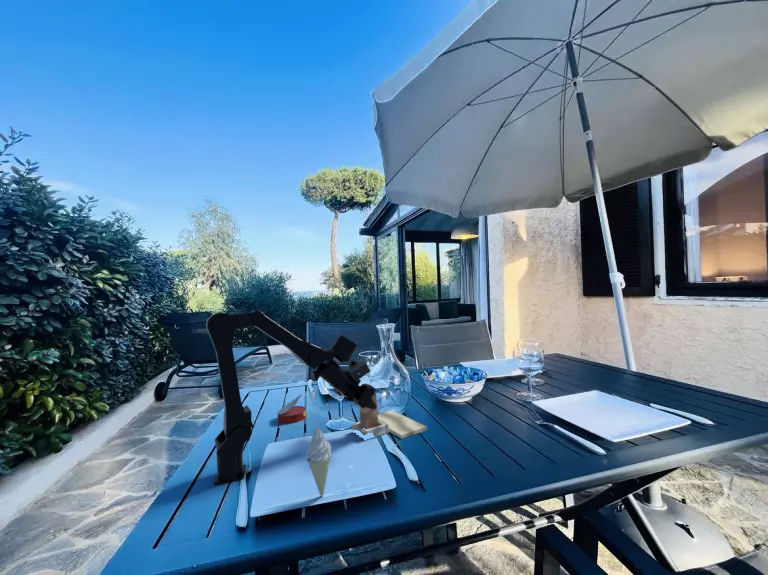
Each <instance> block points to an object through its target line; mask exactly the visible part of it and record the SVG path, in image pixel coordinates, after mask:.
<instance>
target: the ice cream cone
mask: <svg viewBox="0 0 768 575" xmlns="http://www.w3.org/2000/svg"><path fill="white" fill-rule="evenodd" d="M307 449H308V450H307V452H306V453H307V455H308V456H307V457H306V460H307V462H308V465H309V468H310V470H311V471H310V472H311V473H312V476H313V480H314V482H315V485H316V487H317V490H318V493H319V496H320V495H321V496H322V495H323V496H324V493H325V489H326V483H327V478H328V472H329V468H330V462H331V457H332V452H331V451H332V450H331V449H332V448H331V444H330V442H329V441H327V439H325V434H324V433H323V432H322V430H321V428H320V425H319V424H318V423H316V426H315V429H314V432H313V434H312V436H311V442H310V444H309V445H308V446H307ZM321 496H320V497H321Z"/></svg>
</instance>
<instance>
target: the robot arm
mask: <svg viewBox="0 0 768 575" xmlns="http://www.w3.org/2000/svg"><path fill="white" fill-rule="evenodd" d="M205 327H206V330H207V333H208V336H209V338H210V341H211V343H212V345H213V348H214V351H215V356H216V360H217V368H218V374H219V378H220V384H221V386H220V387H221V392H222V397H223V404H224V409H223V410H224V411H223V426H222V427H223V428H222V430H221V431H220V432H219V433H218V434H217V436H216V437H215V438H214V445H215V448H216V453H215V454H216V472H217V474H216V476H215V478H214V481H213V485H215V486H216V485H219V484H220V485H221V484H225V483H230V482H234V481H238V480H239V481H241V480H243V479H244V478H245V474H246V471H247V467H248V466H247V464H244V454H243V452H244V447H245V444H246V442H247V441H248V440H249V439H250V437H251V436H252V432H253V431H252V428H253V429H254V428H255V425H254V424H253V422H252V410H251V408H250V407H249V405H245V406H243V403H242V398H241V392H240V387H239V380H238V375H237V369H236V363H235V362H236V361H235V355H234V351H233V350H234V348H233V346H234V337H235V336H234V333H235V331H236V330H241V329H247V328H251V327H255V328H256V329H258V330H259V331H261V332H262V333H264V334H266V335H267V336H268V337H270V338H271V339H273V340H275V341H276V342H277V343H279V345H282V346H284V347H285V348H286V349H288V351H290V352H291V354H293V356H294V357H295V358H296V359H297V360H298V361H300V363H301V364H303V365H305V366H308V367H309V368H313V369H311V370H310V372H311V373H310V375H311V376H310V379H311V380H313V381H315V382H317V381H318V380H319V379H320V378H321V379H322V380H324V381H325V382H326V383H328V384H329V386H330V387H331V388H333V393H335V394H336V396H339V397H340V398H341V397H342V396H343V399H344V400H347V401H348V402H353V403H354V405H355V406H357V407H358V408H359V407H361V408H365V407H366V408H371V409H375V408H376V407H377V408H378V405H377V406H376V404H375V403H374V401H373V400H372V396H373V395H374V393H375V392H376V393H377V389H376V388H375V387H374V386H373V385H372V384H368V383H365V382H364V383H362V384H361V382H362V380H361V379H362V378H363V377H365V376H366V375H367V374H370V372H371V369H370V366H369V365H368V363H367V361H363V360H357V362H356V361H355V360H350V359H351V358H352V357H353V355H354V354H355V352H356V351H357V350H358V349H359V348H358V345H357V343H355V342H354V341H352V340H350V339H349V338H347V337H346V336H344V335H343V334H338V335H337V337H336V338H335V341H333V343H332V344H331V346H329V348H326V347H324V348H321V347H319V346H317V345H315V344H313V343H310V342H309V341H305V340H303V339H301V338H299V337H297V336H296V335H294V334H293V333H292V332H290V331H288V329H286V328H285V327H283V326H281V325H280V324H279V323H277V321H276V322H275V321H274V320H272V318H270V317H268V316H267V315H265V313H264V312H263V311H261V310H251V311H250V312H249V311H248V312H243V313H236V314H228V313H224V312H216V313H213V314H212V315H210V316H209V317H208V318H207V319H206V323H205ZM343 363H344V364H347V363H348V366H347V367H348V369H347V370H346V369H344V368H343V367H342V366H341V365H342V364H343ZM339 364H340V365H339ZM314 368H315V369H314ZM360 384H361V385H360Z"/></svg>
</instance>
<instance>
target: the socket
mask: <svg viewBox="0 0 768 575" xmlns="http://www.w3.org/2000/svg"><path fill="white" fill-rule="evenodd" d="M352 430H358V431H360V432H361V433H362V434H363V435H366V434H368V433H373V435H374V436H375V438H379V437H380V436H383V435H382V434H384V435H387V434H389V433H391V434H393V435H394V436H396V437H398V438H400V439H402V440H403V439H404V438H408V437H412V436H414V435H417V434H420V433H423V432H426V431H428V426H427V425H424V424H422V423H420V422H418V421H417V420H413V419H411V418H410V417H408V416H405V415H404V414H400V413H398V412H397V411H394V410H392V409H391V410H387V411H383V412H380V413H378V426H377V427H373V428H370V429H367V430H365V429H363V428H362V427H361V423H360V421H357V422H354V423H351V431H352Z"/></svg>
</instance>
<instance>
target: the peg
mask: <svg viewBox="0 0 768 575" xmlns="http://www.w3.org/2000/svg"><path fill="white" fill-rule="evenodd" d="M372 400H373V401H374V403H375V404H376V406H377V407H376V408H375V409H371V408H366V407H365V408H361V407H359V406H358V408H359V419H360V421H359V422H360V423H361V427H362V428H365V429H366V430H367V429H370V428H373V427H377V426H378V414H379V412H378V399H377V391H376V392H375V393H374V395H373V396H372Z"/></svg>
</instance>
